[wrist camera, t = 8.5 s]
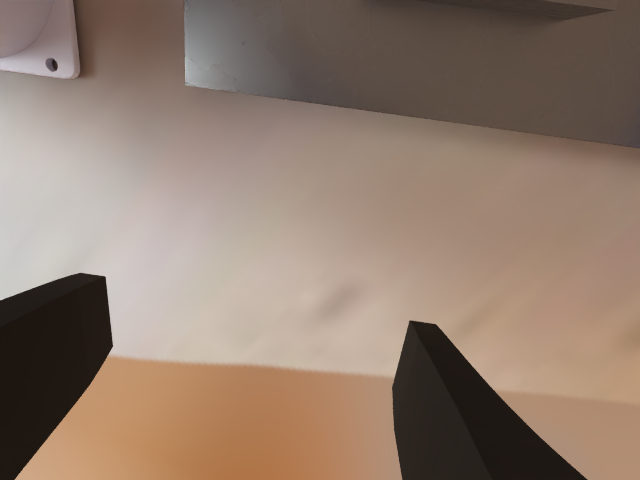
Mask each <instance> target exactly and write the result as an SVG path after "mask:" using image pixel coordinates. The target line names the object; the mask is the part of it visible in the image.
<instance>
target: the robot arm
mask: <svg viewBox="0 0 640 480" xmlns="http://www.w3.org/2000/svg"><path fill="white" fill-rule="evenodd" d="M53 59H54V60H55V61H56V62H57V64H58V69H57V70H55V69H54V68H53V66H52V60H53ZM0 70H3V71H10V72H17V73H25V74H32V75H39V76H46V77H54V78H61V79H75V78H76V77H78V75H79V74H80V61H79V51H78V42H77V33H76V24H75V15H74V6H73V0H0ZM112 347H113V342H112V333H111V324H110V314H109V305H108V296H107V286H106V277H105V276H98V275H91V274H84V273H78V274H74V275H70V276H67V277H64V278H61V279H58V280H55V281H52V282H49V283H46V284H44V285H41V286H38V287H35V288H33V289H30V290H27V291H25V292H22V293H19V294H17V295H14V296H11V297H9V298H6V299H3V300H0V480H15V478H16V477H17V476H18V474H19V473H20V472H21V471H22V469H23V468H24V467H25V466H26V464H27V463H28V462H29V461H30V459H31V458H32V457H33V456H34V454H35V453H36V452H37V451H38V449H39V448H40V447H41V446H42V444H43V443H44V442H45V441H46V440H47V438H48V437H49V436H50V434H51V433H52V432H53V431H54V429H55V428H56V427H57V426H58V425H59V423H60V422H61V421H62V420H63V418H64V417H65V416H66V415H67V413H68V412H69V411H70V409H71V408H72V407H73V405H74V404H75V403H76V402H77V401H78V399H79V398H80V397H81V396H82V394H83V393H84V392H85V390H86V389H87V388H88V386H89V385H90V384H91V382H92V381H93V379H94V377H95V376H96V374H97V372H98V371H99V369H100V368H101V366H102V364H103V363H104V361H105V359H106V358H107V356H108V354H109V352H110V351H111V349H112ZM392 391H393V415H394V431H395V437H396V444H397V450H398V456H399V462H400V467H401V474H402V480H587V479H586V478H585V477H584V476H583V475H581V474H580V473H579V472H578V471H577V470H576V469H575V468H573V467H572V466H571V465H570V464H569V463H568V462H567V461H566V460H565V459H563V458H562V457H561V456H560V455H559V454H558V453H557V452H556V451H554V450H553V449H552V448H551V447H550V446H549V445H548V444H547V443H546V442H545V441H543V440H542V439H541V438H540V437H539V436H538V435H537V434H536V433H535V432H534V431H533V430H532V429H531V428H530V427H529V426H528V425H527V424H526V423H525V422H524V421H523V420H522V419H521V418H520V417H519V416H518V415H517V414H516V413H515V412H514V411H513V410H512V409H511V408H510V407H509V406H508V405H507V404H506V403H505V402H504V401H503V400H502V399H501V397H500V396H499V395H498V394H497V393H496V392H495V391H494V390H493V389H492V388H491V387H490V386H489V385H488V383H487V382H486V381H485V380H484V379H483V378H482V377H481V376H480V374H479V373H478V372H477V371H476V370H475V369H474V368H473V367H472V365H471V364H470V363H469V362H468V361H467V360H466V358H465V357H464V356H463V355H462V354H461V353H460V351H459V350H458V349H457V348H456V347H455V346H454V344H453V343H452V342H451V341H450V340H449V338H448V337H447V336H446V335H445V334H444V333H443V332H442V330H441V329H440V328H439V327H438V326H437V325H436V324H431V323H424V322H417V321H409V325H408V329H407V333H406V337H405V341H404V344H403V348H402V352H401V356H400V360H399V364H398V368H397V371H396V375H395V379H394V383H393V387H392Z"/></svg>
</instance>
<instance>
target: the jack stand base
mask: <svg viewBox="0 0 640 480" xmlns="http://www.w3.org/2000/svg"><path fill="white" fill-rule="evenodd" d="M184 36H185V85H186V86H193V87H200V88H207V89H215V90H222V91H229V92H236V93H244V94H251V95H258V96H265V97H273V98H280V99H287V100H294V101H302V102H309V103H316V104H323V105H331V106H338V107H345V108H352V109H360V110H367V111H374V112H381V113H389V114H396V115H403V116H410V117H418V118H425V119H432V120H439V121H447V122H454V123H461V124H468V125H475V126H483V127H490V128H497V129H504V130H512V131H519V132H526V133H533V134H541V135H548V136H555V137H562V138H570V139H577V140H584V141H591V142H599V143H606V144H613V145H620V146H628V147H635V148H640V0H184Z"/></svg>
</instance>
